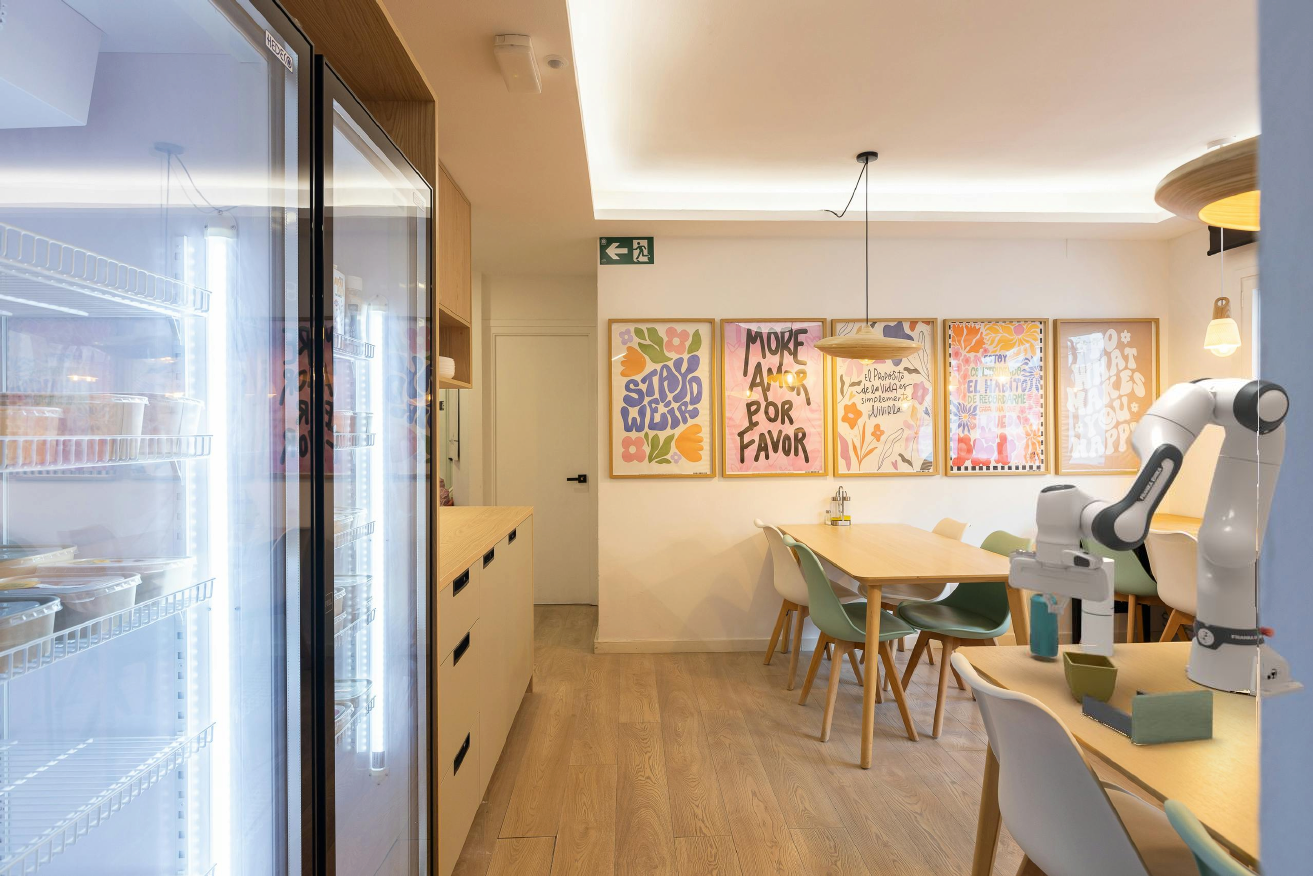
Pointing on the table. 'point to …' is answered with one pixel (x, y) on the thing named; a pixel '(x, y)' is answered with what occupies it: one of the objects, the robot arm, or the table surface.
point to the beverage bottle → (1043, 627)
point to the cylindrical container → (1099, 619)
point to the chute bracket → (1158, 716)
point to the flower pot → (1090, 675)
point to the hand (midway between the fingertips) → (1055, 613)
